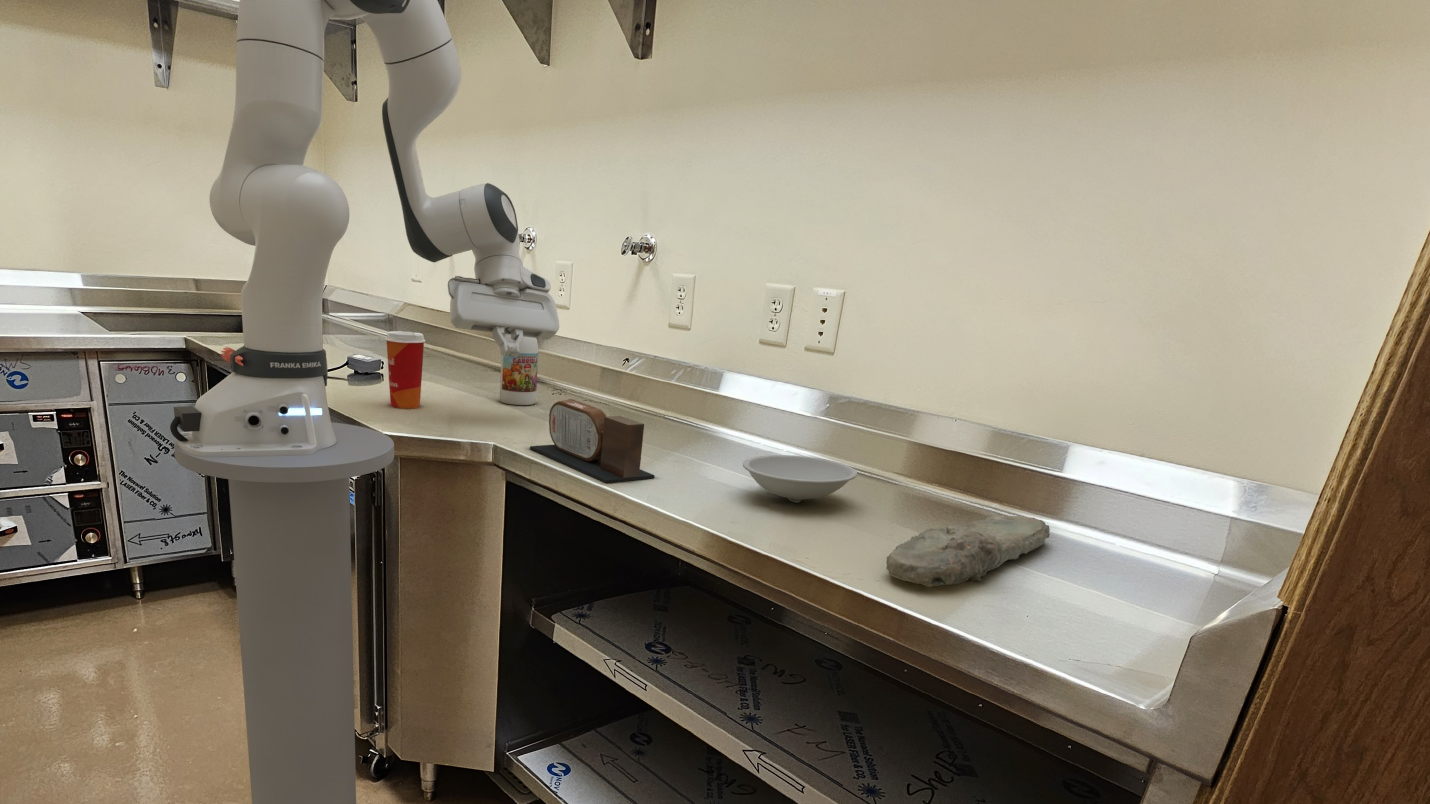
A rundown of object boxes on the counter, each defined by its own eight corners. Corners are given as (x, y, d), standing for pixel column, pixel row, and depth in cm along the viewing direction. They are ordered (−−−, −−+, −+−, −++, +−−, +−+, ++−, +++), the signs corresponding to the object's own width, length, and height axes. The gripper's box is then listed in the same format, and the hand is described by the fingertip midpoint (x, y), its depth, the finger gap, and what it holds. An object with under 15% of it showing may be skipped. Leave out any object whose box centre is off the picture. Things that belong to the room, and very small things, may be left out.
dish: (785, 521, 111) (791, 485, 110) (715, 492, 123) (720, 458, 121) (874, 509, 120) (881, 475, 119) (802, 483, 132) (807, 452, 130)
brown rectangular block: (623, 478, 124) (628, 424, 121) (599, 468, 128) (604, 416, 126) (639, 476, 126) (644, 423, 123) (615, 466, 130) (620, 415, 127)
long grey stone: (1065, 556, 111) (988, 538, 117) (1074, 517, 109) (996, 501, 116) (948, 600, 87) (861, 574, 94) (958, 551, 86) (869, 528, 92)
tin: (612, 466, 130) (617, 412, 128) (595, 467, 129) (600, 413, 126) (559, 444, 142) (563, 394, 139) (544, 445, 140) (546, 395, 137)
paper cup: (391, 400, 169) (390, 329, 165) (428, 404, 169) (429, 332, 164) (380, 407, 162) (379, 333, 157) (419, 411, 162) (420, 336, 157)
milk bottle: (491, 400, 179) (495, 303, 172) (519, 398, 184) (524, 303, 177) (515, 407, 174) (520, 307, 167) (543, 404, 179) (548, 307, 172)
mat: (606, 483, 122) (606, 480, 122) (529, 449, 139) (529, 446, 139) (654, 478, 127) (654, 475, 127) (574, 445, 144) (574, 442, 144)
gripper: (453, 265, 143) (462, 340, 140) (557, 282, 153) (568, 352, 151) (440, 283, 148) (448, 356, 145) (541, 299, 159) (551, 367, 156)
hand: (510, 354), depth 148 cm, fingers closed
